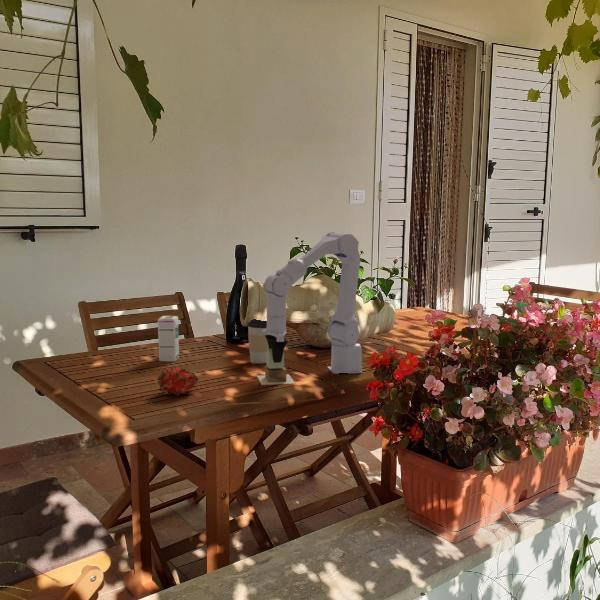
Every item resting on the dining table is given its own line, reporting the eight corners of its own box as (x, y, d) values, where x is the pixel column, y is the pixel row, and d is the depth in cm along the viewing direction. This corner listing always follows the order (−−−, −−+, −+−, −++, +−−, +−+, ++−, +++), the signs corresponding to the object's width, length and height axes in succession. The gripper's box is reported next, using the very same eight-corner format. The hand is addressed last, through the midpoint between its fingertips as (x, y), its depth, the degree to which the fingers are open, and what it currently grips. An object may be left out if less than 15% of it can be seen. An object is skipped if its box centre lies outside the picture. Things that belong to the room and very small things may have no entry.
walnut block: (283, 376, 199) (283, 365, 198) (286, 381, 194) (286, 370, 193) (265, 377, 198) (265, 366, 197) (268, 382, 192) (268, 370, 192)
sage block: (281, 364, 198) (281, 347, 197) (284, 367, 193) (284, 351, 192) (266, 364, 197) (266, 348, 196) (269, 368, 192) (269, 352, 191)
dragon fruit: (153, 401, 180) (194, 401, 185) (163, 390, 173) (205, 391, 179) (151, 372, 183) (191, 374, 189) (160, 360, 177) (202, 362, 183)
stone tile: (288, 375, 202) (288, 374, 202) (295, 384, 192) (295, 383, 192) (256, 377, 200) (256, 375, 199) (261, 386, 190) (261, 384, 190)
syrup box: (176, 361, 216) (175, 318, 214) (158, 361, 216) (157, 318, 214) (179, 357, 222) (179, 315, 220) (162, 357, 222) (161, 315, 220)
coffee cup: (257, 357, 224) (257, 314, 222) (279, 361, 219) (280, 317, 217) (241, 362, 216) (242, 318, 214) (264, 366, 212) (264, 321, 209)
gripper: (259, 311, 199) (259, 354, 201) (266, 320, 185) (266, 366, 187) (282, 311, 200) (281, 354, 202) (291, 319, 186) (290, 366, 188)
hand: (275, 360), depth 195 cm, fingers closed on sage block, 4 cm apart
